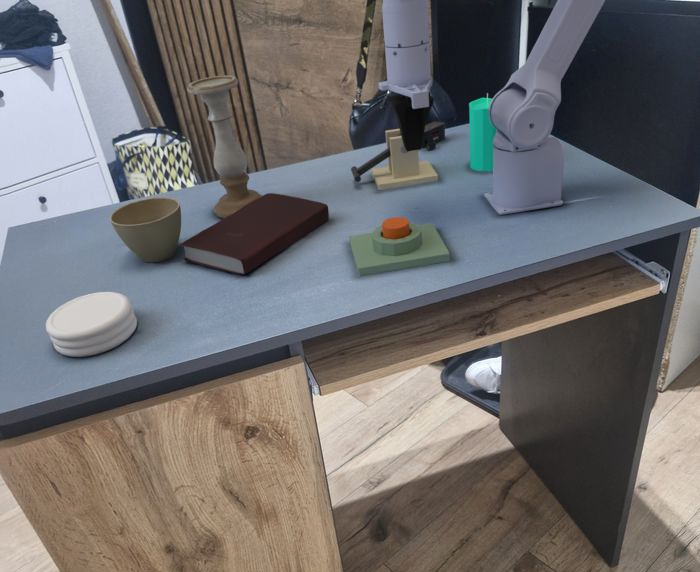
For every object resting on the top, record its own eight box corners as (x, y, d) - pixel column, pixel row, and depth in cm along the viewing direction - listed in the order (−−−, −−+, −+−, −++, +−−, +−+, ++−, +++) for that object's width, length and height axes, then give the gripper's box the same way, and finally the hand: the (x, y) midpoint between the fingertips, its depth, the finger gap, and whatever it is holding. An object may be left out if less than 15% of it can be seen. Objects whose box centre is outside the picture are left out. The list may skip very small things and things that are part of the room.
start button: (407, 227, 87) (406, 215, 86) (412, 238, 84) (411, 225, 83) (381, 231, 87) (379, 219, 86) (385, 242, 84) (384, 230, 83)
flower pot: (133, 278, 90) (116, 231, 86) (120, 253, 98) (104, 209, 94) (200, 256, 94) (187, 210, 90) (182, 234, 101) (169, 191, 97)
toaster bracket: (379, 191, 106) (374, 144, 102) (372, 175, 113) (367, 130, 108) (438, 182, 106) (436, 134, 102) (427, 166, 113) (425, 121, 108)
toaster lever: (358, 186, 107) (351, 175, 105) (355, 176, 111) (347, 165, 109) (415, 149, 104) (408, 137, 103) (409, 140, 108) (402, 128, 107)
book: (331, 221, 98) (328, 201, 96) (246, 278, 86) (241, 256, 84) (270, 210, 105) (266, 191, 103) (183, 262, 93) (177, 241, 91)
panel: (433, 230, 91) (432, 210, 90) (450, 261, 83) (449, 240, 81) (350, 244, 91) (347, 224, 89) (359, 276, 83) (356, 255, 81)
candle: (465, 163, 112) (464, 91, 105) (499, 158, 112) (500, 86, 105) (474, 174, 107) (474, 100, 100) (510, 169, 107) (511, 94, 100)
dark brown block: (411, 149, 122) (410, 132, 120) (435, 138, 125) (434, 121, 123) (430, 152, 119) (429, 135, 117) (454, 141, 122) (453, 124, 121)
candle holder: (234, 197, 112) (205, 74, 100) (276, 200, 108) (252, 73, 97) (205, 218, 106) (170, 89, 94) (249, 221, 102) (219, 88, 91)
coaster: (58, 369, 73) (46, 344, 71) (52, 330, 81) (41, 306, 79) (144, 340, 76) (135, 315, 74) (131, 305, 84) (122, 281, 82)
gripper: (368, 38, 88) (376, 138, 95) (385, 58, 76) (393, 170, 83) (418, 31, 88) (423, 131, 96) (444, 49, 76) (447, 162, 84)
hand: (413, 149), depth 89 cm, fingers closed
